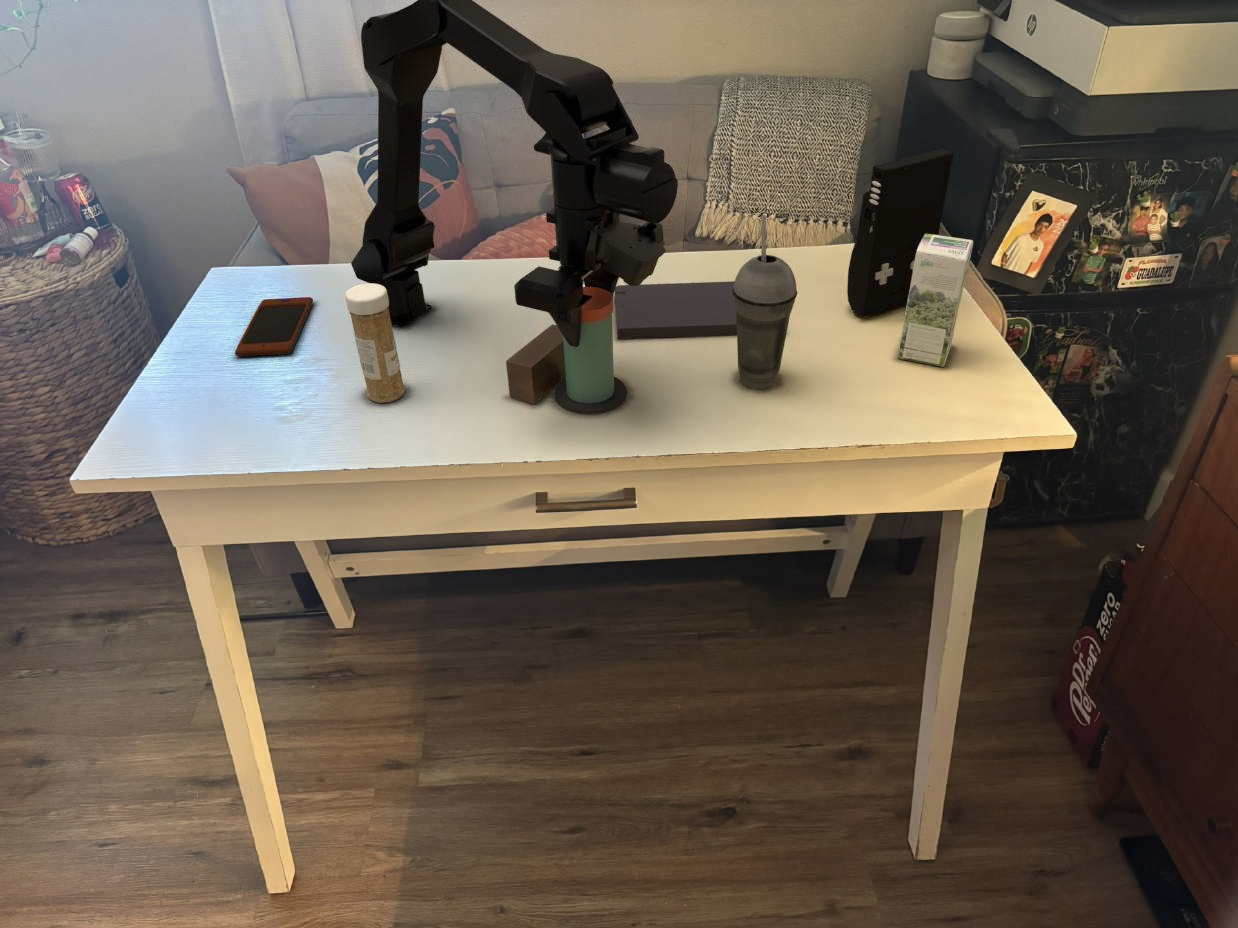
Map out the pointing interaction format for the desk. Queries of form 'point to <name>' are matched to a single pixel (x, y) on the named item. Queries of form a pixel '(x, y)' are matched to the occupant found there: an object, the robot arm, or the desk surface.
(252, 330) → the smartphone
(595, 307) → the container
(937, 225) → the handheld gaming console
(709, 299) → the notebook
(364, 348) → the sprinkles bottle
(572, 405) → the coaster
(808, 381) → the desk surface
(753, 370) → the beverage cup
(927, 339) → the syrup box
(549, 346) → the block
